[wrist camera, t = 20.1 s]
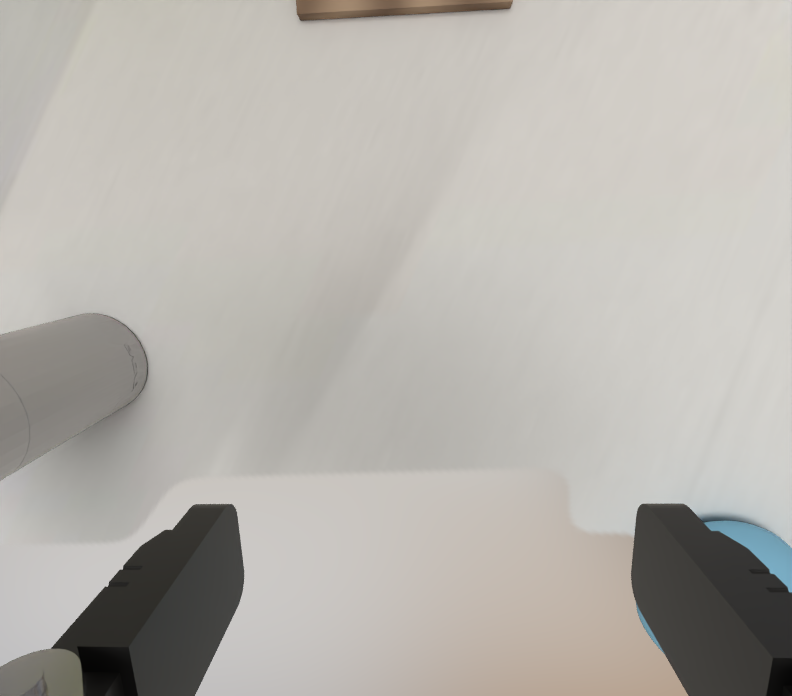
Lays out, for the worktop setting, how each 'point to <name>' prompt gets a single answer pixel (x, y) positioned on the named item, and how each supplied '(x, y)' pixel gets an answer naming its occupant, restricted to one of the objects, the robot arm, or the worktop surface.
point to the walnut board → (389, 7)
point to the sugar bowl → (761, 542)
